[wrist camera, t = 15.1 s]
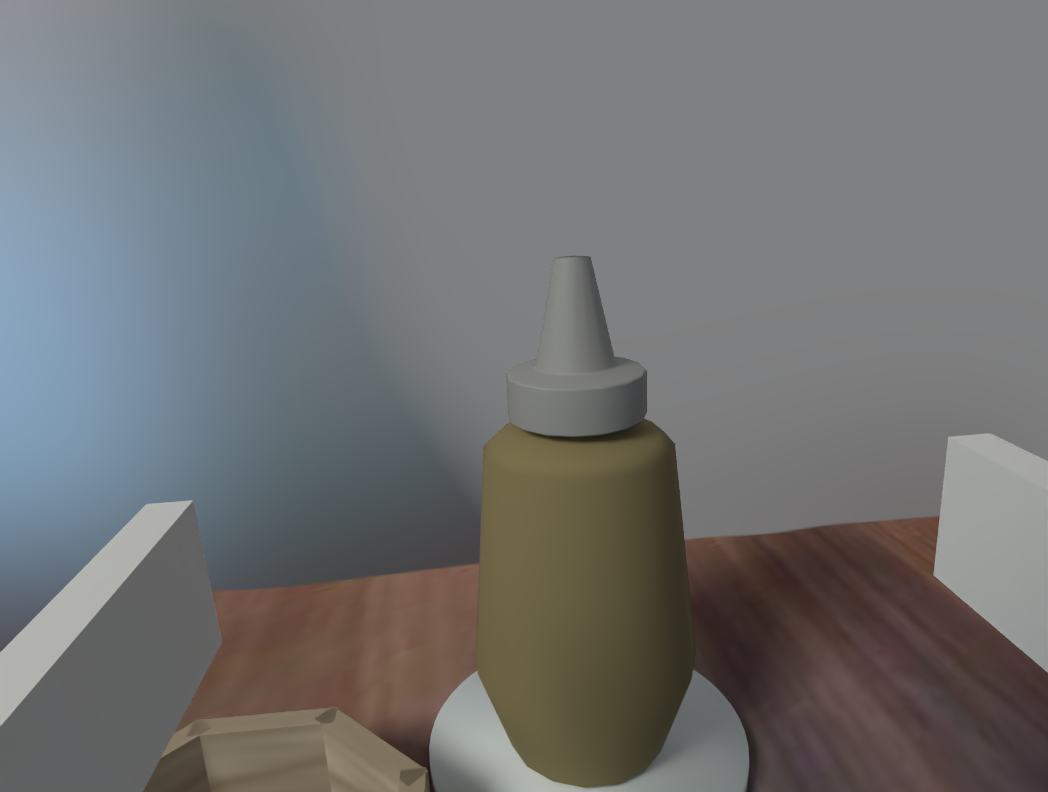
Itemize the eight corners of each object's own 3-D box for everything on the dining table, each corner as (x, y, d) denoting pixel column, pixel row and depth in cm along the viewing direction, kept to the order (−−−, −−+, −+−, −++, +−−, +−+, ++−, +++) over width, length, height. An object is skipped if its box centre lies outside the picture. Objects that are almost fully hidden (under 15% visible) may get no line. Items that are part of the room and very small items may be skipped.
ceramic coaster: (692, 643, 35) (693, 629, 35) (805, 869, 23) (807, 849, 23) (436, 667, 34) (434, 652, 34) (422, 912, 23) (420, 891, 22)
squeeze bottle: (463, 813, 25) (416, 278, 20) (497, 664, 33) (469, 251, 28) (708, 824, 24) (721, 267, 19) (683, 668, 32) (688, 242, 27)
